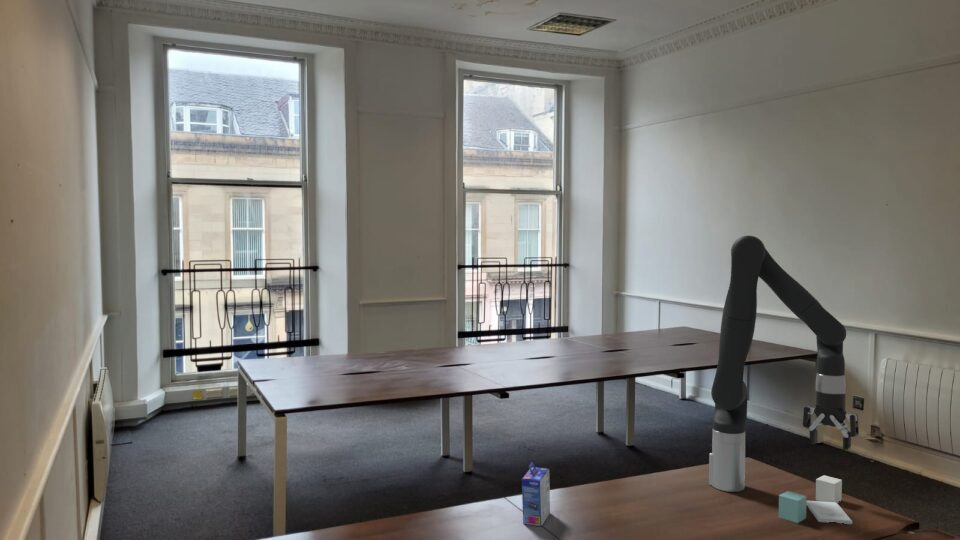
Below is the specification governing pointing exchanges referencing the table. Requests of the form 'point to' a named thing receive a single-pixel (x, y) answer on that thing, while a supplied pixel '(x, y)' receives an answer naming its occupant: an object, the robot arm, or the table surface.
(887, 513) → the table surface
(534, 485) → the ink cartridge box
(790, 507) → the teal block
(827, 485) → the white block
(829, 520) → the external hard drive
